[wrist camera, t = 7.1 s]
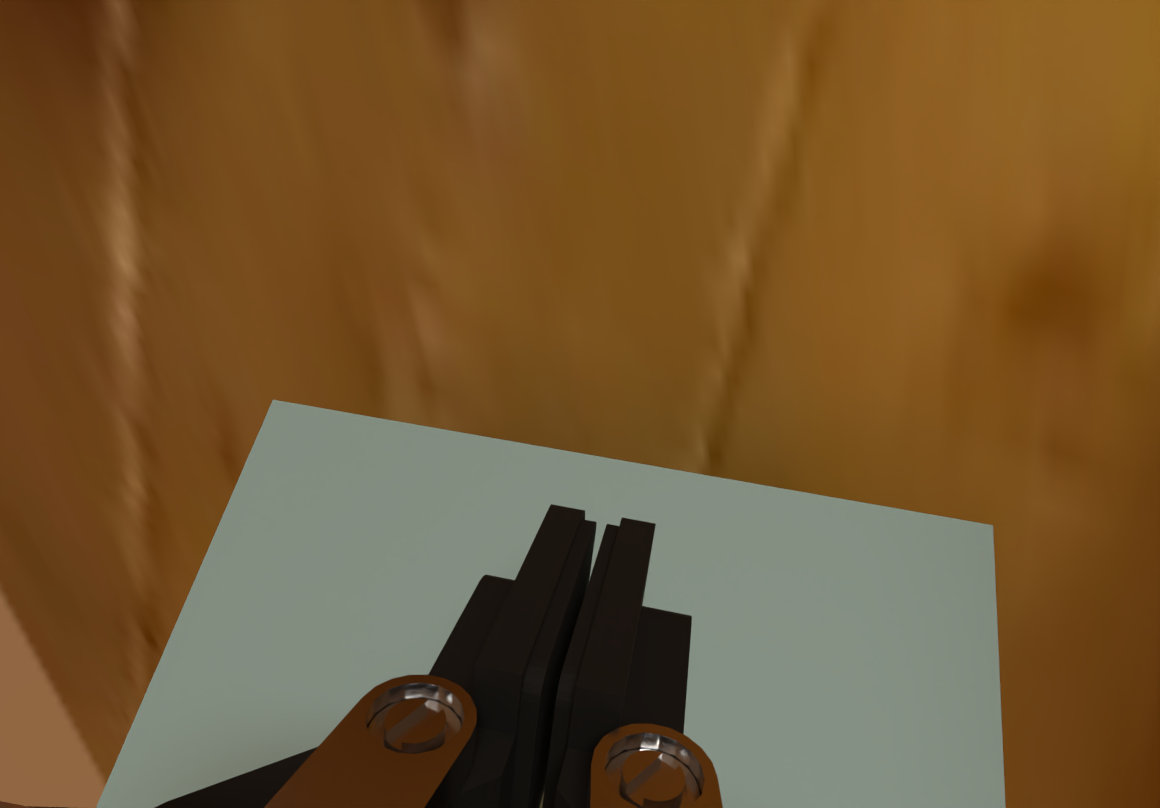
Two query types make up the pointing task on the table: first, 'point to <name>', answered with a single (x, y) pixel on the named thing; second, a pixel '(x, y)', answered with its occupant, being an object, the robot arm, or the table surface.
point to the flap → (674, 581)
